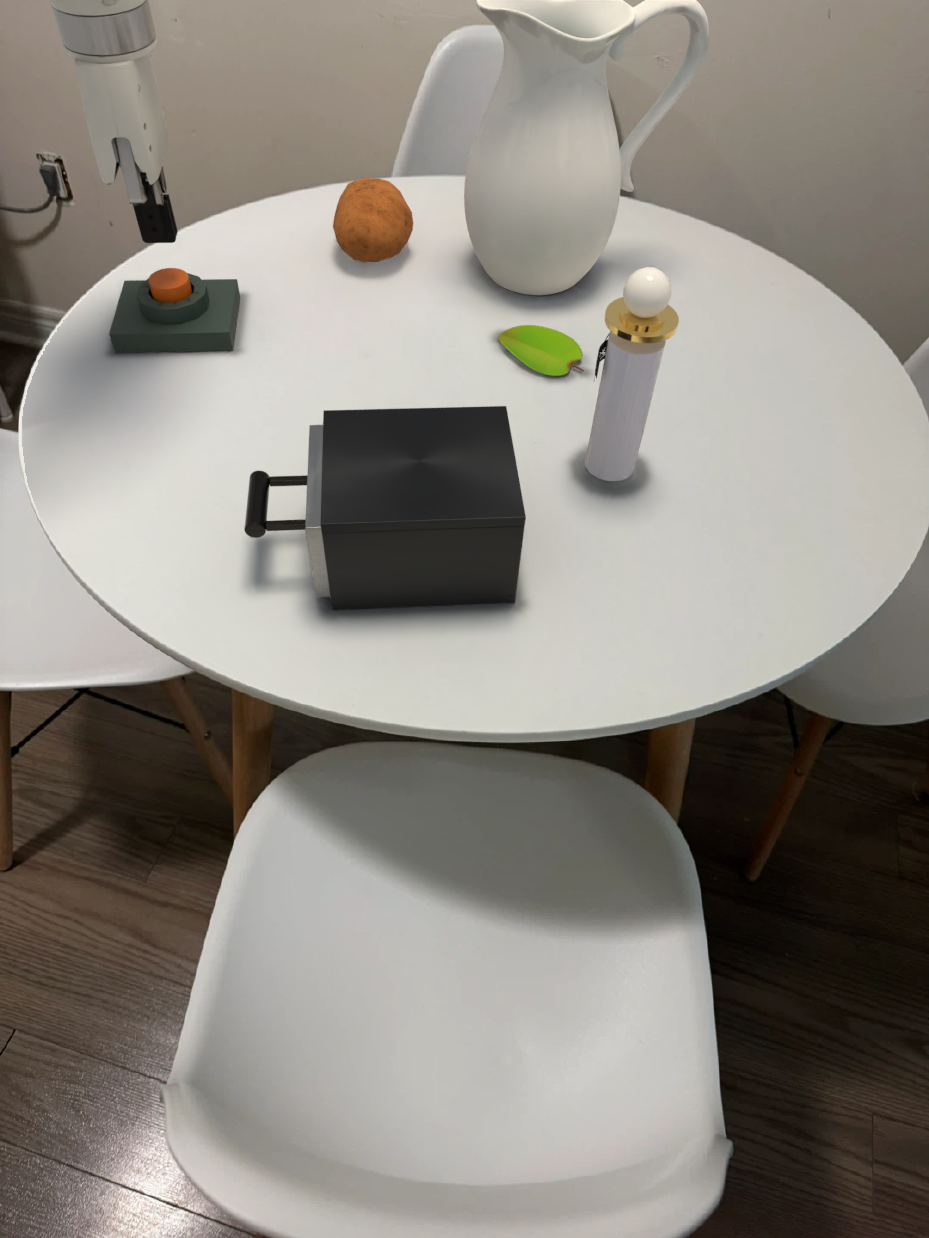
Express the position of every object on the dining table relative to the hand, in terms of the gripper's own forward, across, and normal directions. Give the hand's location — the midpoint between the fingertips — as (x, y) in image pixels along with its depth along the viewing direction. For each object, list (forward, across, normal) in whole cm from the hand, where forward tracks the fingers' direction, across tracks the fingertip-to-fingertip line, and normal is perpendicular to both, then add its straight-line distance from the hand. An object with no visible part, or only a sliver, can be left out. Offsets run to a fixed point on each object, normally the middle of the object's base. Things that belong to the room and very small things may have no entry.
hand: (160, 238), depth 87 cm
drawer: (+8, +34, +20) cm, 40 cm away
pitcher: (+10, -10, +43) cm, 45 cm away
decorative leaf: (+10, +7, +38) cm, 40 cm away
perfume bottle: (+10, +25, +42) cm, 50 cm away
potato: (+10, -14, +21) cm, 27 cm away
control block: (+9, 0, 0) cm, 9 cm away
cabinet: (+9, +34, +24) cm, 43 cm away
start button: (+6, 0, 0) cm, 6 cm away
